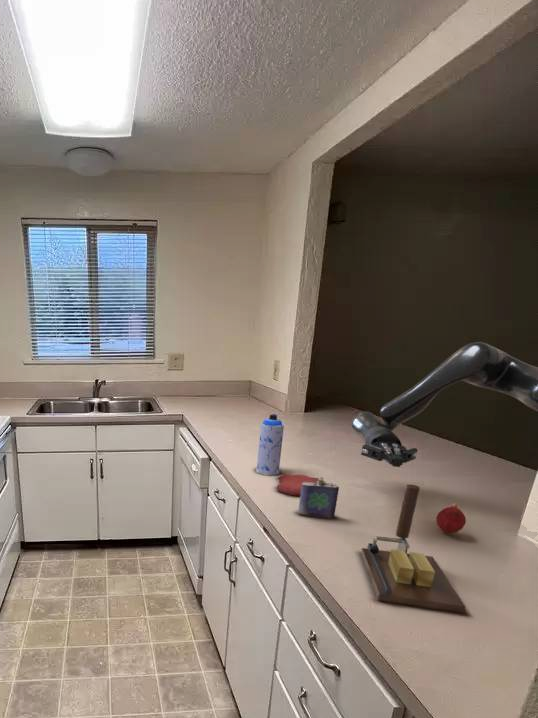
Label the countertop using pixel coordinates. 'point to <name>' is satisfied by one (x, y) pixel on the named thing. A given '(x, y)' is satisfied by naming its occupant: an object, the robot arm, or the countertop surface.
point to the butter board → (412, 591)
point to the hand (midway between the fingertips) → (397, 462)
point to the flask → (318, 499)
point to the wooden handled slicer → (401, 521)
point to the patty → (293, 483)
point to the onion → (451, 519)
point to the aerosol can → (270, 446)
